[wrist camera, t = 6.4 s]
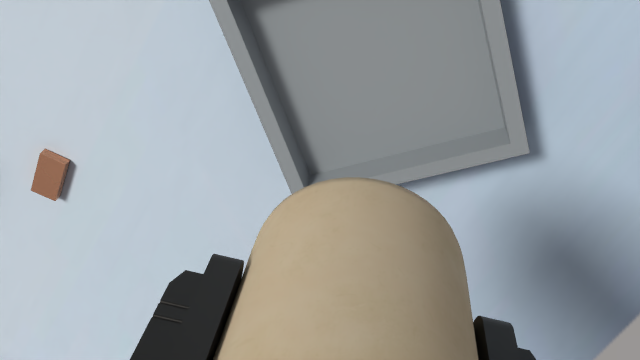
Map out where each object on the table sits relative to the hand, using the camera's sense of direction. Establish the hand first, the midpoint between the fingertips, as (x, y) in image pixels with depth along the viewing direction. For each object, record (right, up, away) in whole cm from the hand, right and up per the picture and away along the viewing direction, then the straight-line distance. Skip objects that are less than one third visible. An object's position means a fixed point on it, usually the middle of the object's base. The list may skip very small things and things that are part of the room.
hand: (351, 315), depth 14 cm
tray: (+2, +10, +17) cm, 19 cm away
